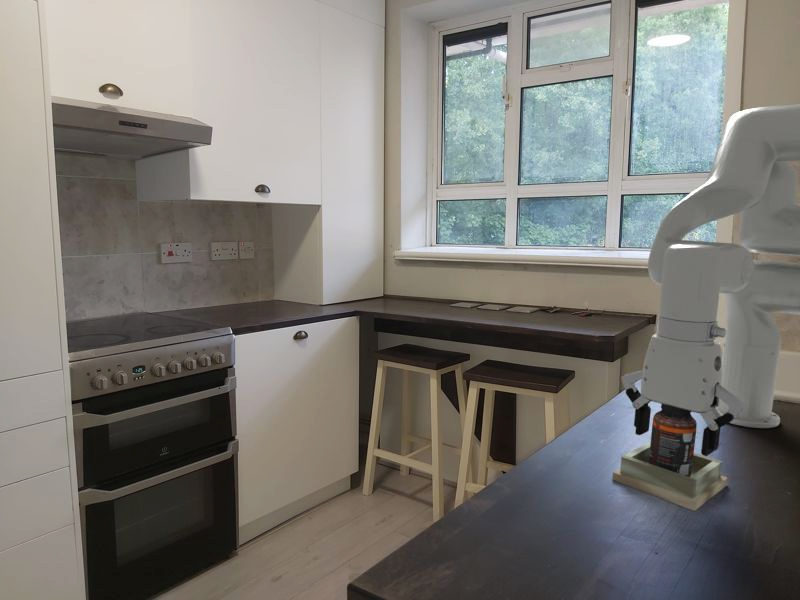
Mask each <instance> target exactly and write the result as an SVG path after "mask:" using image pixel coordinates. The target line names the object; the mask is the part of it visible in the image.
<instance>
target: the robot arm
mask: <svg viewBox="0 0 800 600" xmlns="http://www.w3.org/2000/svg"><path fill="white" fill-rule="evenodd" d="M727 121H728V122H727V123H726V125H725V127H724V130H723V132H722V135H721V138H720V141H719V144H718V146H717V149H716V152H715V154H714V158H713V162H712V164H711V167H710V169H709V172H708V175H707V178H706V181H705V183H704V184H703V185H701V186H699V187H698V188H697V189H695V190H693V191H692V192H690V193H689V194H687V195H686V196H685V197H684V198H681V200H680V201H678V203H676V204H675V205H674V206H673V207H672V208H671V209H670V210H668V212H667V213H666V214H665V215H664V217H663V219H662V220H661V222H660V224H659V227H658V228H657V229H658V230H657V232H656V234H655V236H654V240H653V242H652V246H651V249H650V252H649V257H648V260H647V261H648V262H647V270H648V271H647V272H648V275H649V277H650V279H651V281H653V283H655V284H657V285H658V286H660V296H659V303H658V305H659V306H658V317H657V325H656V326H657V327H656V333H655V334H652V336H651V339H650V342H649V344H648V348H647V351H646V353H645V358H644V362H643V368H642V370H638V371H635V372H631V373H627V374H624V375H622V376H621V378H620V379H621V383H622V385H623V388H624V389H625V395H626V396H627V397H628V400H629V401H630V402H631V403H632V408H634V409H635V410H634V411H635V412H634V420H633V426H634V427H635V435H637V436H642V435H644V434H645V433H648V432H649V431H650V425H651V424H650V422H651V415H652V414H651V413H652V408H651V406H650V405H649V404H650V403H651V402H654V403H656V404H657V403H658V404H664V405H670V406H674V407H676V408H679V409H683V410H687V411H691V413H695V414H700V416H701V418H702V419H703V421H704V422H705V424H706V425H707V426H706V427H705V428H703V431H702V432H703V434H702V442H701V450H700V451H701V452H700V453H701V454H700V455H703V456H706V457H709V455H711V454H712V453H714V452H716V451H717V450H718V448H719V444H720V435H721V429H722V427H724V426H726V425H728V424H731V425H736V426H739V427H740V426H742V427H745V428H753V429H755V428H756V429H771V428H776V427H778V426H779V425H780V423H781V418H780V416H779V414H776V413H775V412H773V411H772V410H773V405H774V404H773V403H774V398H775V389H776V382H777V375H778V368H779V367H778V366H779V359H780V352H781V351H780V350H781V344H782V334H781V330H780V328H779V325H778V324H777V323H776V322H777V321H775V320H774V318H773V317H772V315H771V314H770V313H771V312H772V313H780V314H781V313H783V314H784V313H785V314H791V315H798V316H799V315H800V263H798V262H785V261H777V260H776V261H774V260H760V259H759V260H757V259H755V260H754V259H753V256H752V254H751V253H756V254H765V255H782V256H795V257H800V203H798V202H797V200H796V197H797V188H798V182H799V181H798V178H799V177H798V174H797V171H796V169H795V168H794V166H793V165H792V164H791V163H790V162H798V161H799V162H800V103H798V104H789V105H788V104H785V105H771V106H770V105H769V106H762V107H754V108H748V109H744V110H741V111H738V112H736V113H734V114H733V115H731V117H730V118H729V119H728V120H727ZM739 213H740V222H739V243H740V244H738V243H730V242H718V241H716V242H714V241H703V240H685V239H684V238H685V237H687V235H689V233H691V232H692V231H694V230H695V229H697V228H699V227H702V226H703V225H706V224H708V223H712V222H715V221H717V220H721V219H724V218H727V217H731V216H733V215H736V214H739ZM750 252H751V253H750ZM720 294H725V295H726V296H725V297H726V300H725V301H726V319H725V321H726V322H725V327H721V326H719V325H718V324H719V322H718V321H717V319H718V318H717V316H718V308H719V307H718V306H719V300H720ZM718 338H724V339H723V348H722V349H721V343H720V342H717V341H715V340H716V339H718ZM640 380H641V382H640V391H639V389H638V388H637V387H636V383H635V382H636V381H640Z"/></svg>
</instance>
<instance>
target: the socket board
mask: <svg viewBox="0 0 800 600" xmlns="http://www.w3.org/2000/svg"><path fill="white" fill-rule="evenodd" d="M650 443H651V440H650V441H649V442H646V443H644V444H643V445H641V446H638V448H636V449H634V450H632V451H630V452H628V453H626V454H624V455H622V456H621V459H620V468H618V469H616V470H614V471H613V472H612V478H611V480H612V481H614V482H617V483H620V484H623V485H625V486H628V487H630V488H632V489H633V488H634V489H635V490H639V491H641V492H644V493H647V494H649V495H651V496H654V497H656V498H659V499H662V500H665V501H666V502H667V501H668V502H670V503H673V504H675V505H678V506H680V507H683V508H686V509H688V510H691V511H694V512H696V510H698V509H699V508H700V507H702V506H703V505H704V504H705V503H707V502H708V501H709V500H710V499H711V498H713V497H714V496H716V494H718V493H719V492H720V491H722V490H723V489H724V488H725V487H727V486H728V479H729V478H728V477H727V476H725V475H722V469H723V461H722V460H719V459H716V458H712V457H710V456H704V455H702V454H700V453H696V452H694V456H693V465H692V472H691V476H690V477H687V476H684V475H681V474H678V473H675V472H672V471H669V470H667V469H664V468H661V467H658V466H655V465H652V464H649V455H650Z"/></svg>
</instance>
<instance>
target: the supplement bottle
mask: <svg viewBox="0 0 800 600" xmlns="http://www.w3.org/2000/svg"><path fill="white" fill-rule="evenodd" d="M660 408H661V410H660V411H657V412H656V413H654V415H653V417H652V424H651V425H652V426H651V432H650V433H651V435H650V441H651V443H650V455H649V464H652V465H655V466H658V467H661V468H664V469H667V470H669V471H672V472H675V473H678V474H681V475H684V476H687V477H690V476H691V472H692V465H693V456H694V453H695V447H696V444H695V443H696V438H697V437H696V436H697V424H698V423H697V420H696V419H695V418H694V417H693V416H692V414H691V413H692V412H691V411H687V410H683V409H679V408H676V407H674V406H670V405H664V404H661V405H660Z"/></svg>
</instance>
